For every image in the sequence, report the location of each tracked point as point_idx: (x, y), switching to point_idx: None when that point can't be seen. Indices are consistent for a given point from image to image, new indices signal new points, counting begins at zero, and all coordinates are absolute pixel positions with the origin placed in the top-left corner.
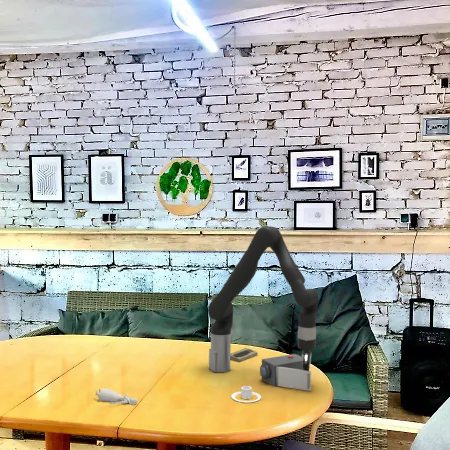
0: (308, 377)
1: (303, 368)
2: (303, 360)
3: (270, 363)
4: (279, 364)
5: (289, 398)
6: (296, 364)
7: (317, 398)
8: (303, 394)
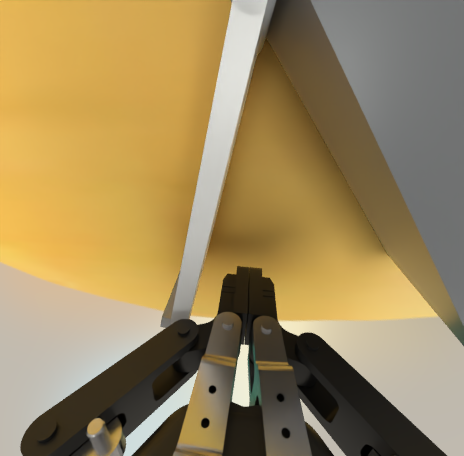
0: (169, 302)
1: (171, 326)
2: (25, 446)
3: None
4: (331, 15)
5: (62, 145)
6: (420, 256)
7: (126, 275)
8: (153, 221)
